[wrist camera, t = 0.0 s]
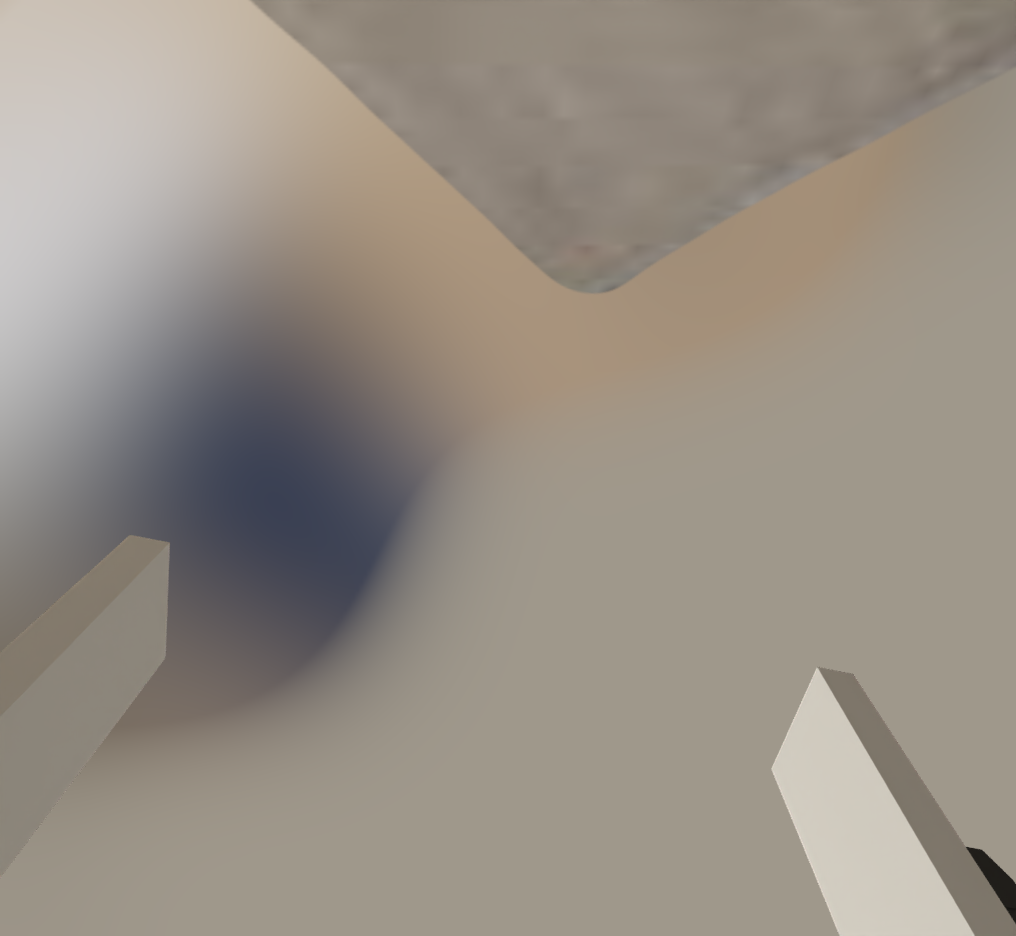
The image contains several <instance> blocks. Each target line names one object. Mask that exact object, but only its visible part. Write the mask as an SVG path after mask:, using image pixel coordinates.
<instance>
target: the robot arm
mask: <svg viewBox="0 0 1016 936" xmlns="http://www.w3.org/2000/svg"><path fill="white" fill-rule="evenodd" d="M169 546H170V543H169V542H164V541H159V540H153V539H148V538H143V537H138V536H132V535H130V536H128V537H127V538H126V539H125V540H124V541H123V542H122V543H121V544H119V545H118V546H117V547H116V548H115V549H114V550H113V551H112V552H111V553H110V554H108V555H107V556H106V557H105V558H104V559H103V560H102V561H101V562H100V563H99V564H97V565H96V566H95V567H94V568H93V569H92V570H91V571H90V572H89V573H88V574H86V575H85V576H84V577H83V578H82V579H81V580H80V581H79V582H77V584H75V585H74V586H73V587H72V588H71V589H70V590H69V591H68V592H67V593H66V594H64V595H63V596H62V597H61V598H60V599H59V600H58V601H57V602H55V603H54V604H53V605H52V606H51V607H50V608H49V609H48V610H47V611H45V612H44V613H43V614H42V615H41V616H40V617H39V618H38V619H37V620H36V621H34V622H33V623H32V624H31V625H30V626H29V627H28V628H27V629H26V630H25V631H23V633H21V634H20V635H19V636H18V637H17V638H16V639H15V640H13V641H12V643H10V644H9V645H8V646H7V647H6V648H5V649H4V650H3V651H1V652H0V878H1V876H2V875H3V874H4V872H5V871H6V870H7V868H8V867H9V866H10V864H11V863H12V862H13V860H14V859H15V858H16V856H17V855H18V854H19V852H20V851H21V850H22V848H23V847H24V846H25V844H26V843H27V842H28V840H29V839H30V838H31V836H32V835H33V834H34V832H35V831H36V830H37V828H38V827H39V826H40V824H41V823H42V822H43V820H44V819H45V818H46V816H47V815H48V814H49V812H50V811H51V810H52V808H53V807H54V806H55V804H56V803H57V802H58V800H59V799H60V798H61V796H62V795H63V794H64V792H65V791H66V790H67V788H68V787H69V786H70V784H71V783H72V782H73V780H74V779H75V778H76V776H77V775H78V774H79V772H80V771H81V770H82V768H83V767H84V766H85V764H86V763H87V762H88V760H89V759H90V758H91V756H92V755H93V754H94V752H95V751H96V750H97V748H98V747H99V746H100V744H101V743H102V742H103V740H104V739H105V738H106V736H107V735H108V734H109V732H110V731H111V730H112V728H113V727H114V726H115V724H116V723H117V722H118V720H119V719H120V718H121V716H122V715H123V714H124V712H125V711H126V710H127V708H128V707H129V706H130V704H131V703H132V702H133V700H134V699H135V698H136V696H137V695H138V694H139V692H140V691H141V690H142V688H143V687H144V686H145V685H146V683H147V682H148V680H149V679H150V678H151V677H152V675H153V674H154V673H155V671H156V670H157V668H158V667H159V666H160V664H161V663H162V662H163V660H164V659H165V657H166V631H167V602H168V575H169V548H170V547H169ZM772 771H773V774H774V777H775V779H776V782H777V784H778V786H779V788H780V791H781V794H782V796H783V799H784V801H785V804H786V806H787V808H788V811H789V813H790V816H791V818H792V821H793V823H794V825H795V828H796V830H797V833H798V835H799V838H800V840H801V843H802V845H803V848H804V850H805V852H806V855H807V857H808V860H809V862H810V864H811V867H812V870H813V872H814V874H815V877H816V879H817V882H818V884H819V887H820V889H821V892H822V894H823V896H824V899H825V901H826V904H827V906H828V909H829V911H830V914H831V916H832V918H833V921H834V923H835V926H836V928H837V931H838V933H839V936H1016V884H1015V882H1014V881H1013V880H1012V879H1011V878H1010V877H1009V876H1008V875H1007V874H1006V873H1005V872H1004V871H1003V870H1002V869H1001V868H1000V867H999V866H998V865H997V864H996V863H995V862H994V861H993V860H992V859H991V858H989V856H988V855H987V854H986V853H985V852H984V851H982V850H980V849H975V848H969V847H965V845H964V844H963V842H962V841H961V839H960V838H959V836H958V835H957V833H956V831H955V830H954V828H953V827H952V825H951V824H950V822H949V821H948V819H947V818H946V816H945V815H944V813H943V811H942V810H941V808H940V807H939V805H938V804H937V802H936V801H935V799H934V798H933V796H932V795H931V793H930V791H929V790H928V788H927V787H926V785H925V784H924V782H923V781H922V779H921V778H920V776H919V775H918V773H917V771H916V770H915V768H914V767H913V765H912V764H911V762H910V761H909V759H908V758H907V756H906V755H905V753H904V751H903V750H902V748H901V747H900V745H899V744H898V742H897V741H896V739H895V738H894V736H893V735H892V733H891V731H890V730H889V728H888V727H887V725H886V724H885V722H884V721H883V719H882V718H881V716H880V715H879V713H878V711H877V710H876V708H875V707H874V705H873V704H872V702H871V701H870V699H869V698H868V696H867V695H866V693H865V692H864V690H863V688H862V687H861V685H860V684H859V682H858V681H857V679H856V678H855V676H854V675H853V674H851V673H845V672H841V671H835V670H830V669H825V668H820V667H817V668H816V671H815V673H814V675H813V678H812V680H811V682H810V684H809V686H808V688H807V691H806V693H805V695H804V697H803V700H802V702H801V704H800V706H799V709H798V711H797V713H796V715H795V718H794V720H793V722H792V724H791V726H790V729H789V731H788V733H787V735H786V738H785V740H784V742H783V744H782V747H781V749H780V751H779V753H778V755H777V758H776V760H775V762H774V765H773V767H772Z"/></svg>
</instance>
